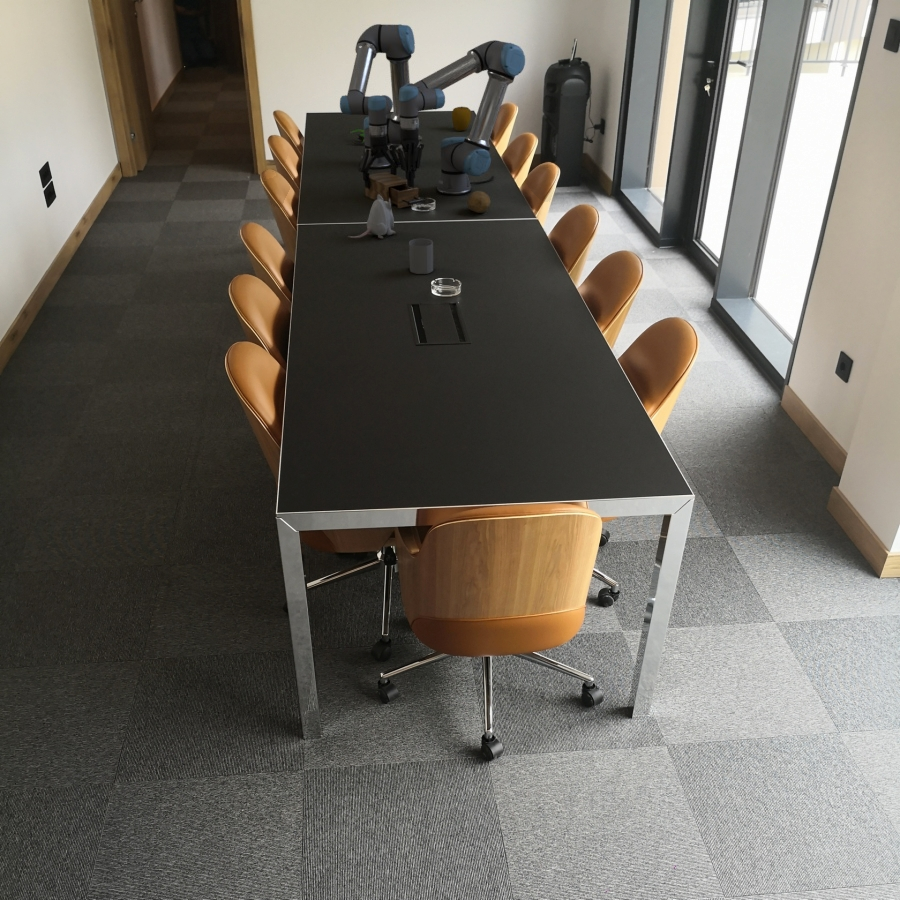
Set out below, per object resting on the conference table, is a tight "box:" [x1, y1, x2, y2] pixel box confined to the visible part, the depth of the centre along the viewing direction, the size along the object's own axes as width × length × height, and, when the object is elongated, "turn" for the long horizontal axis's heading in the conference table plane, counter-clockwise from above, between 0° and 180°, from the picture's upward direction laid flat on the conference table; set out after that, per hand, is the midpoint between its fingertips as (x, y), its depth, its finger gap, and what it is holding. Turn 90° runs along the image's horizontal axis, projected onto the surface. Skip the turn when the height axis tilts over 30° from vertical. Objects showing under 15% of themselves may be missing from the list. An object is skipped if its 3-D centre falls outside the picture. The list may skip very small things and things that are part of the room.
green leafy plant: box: [348, 128, 365, 146], centre depth 466 cm, size 6×13×30 cm
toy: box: [347, 194, 396, 240], centre depth 332 cm, size 9×24×15 cm, turn 137°
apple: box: [451, 105, 472, 132], centre depth 487 cm, size 11×11×13 cm
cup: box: [408, 237, 434, 275], centre depth 305 cm, size 8×8×10 cm
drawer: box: [389, 184, 424, 209], centre depth 370 cm, size 22×10×7 cm, turn 36°
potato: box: [467, 190, 491, 214], centre depth 363 cm, size 10×14×8 cm
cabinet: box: [364, 171, 407, 206], centre depth 378 cm, size 18×11×9 cm, turn 36°
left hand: (380, 185), depth 382 cm, fingers open, 13 cm apart
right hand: (410, 186), depth 362 cm, fingers closed
